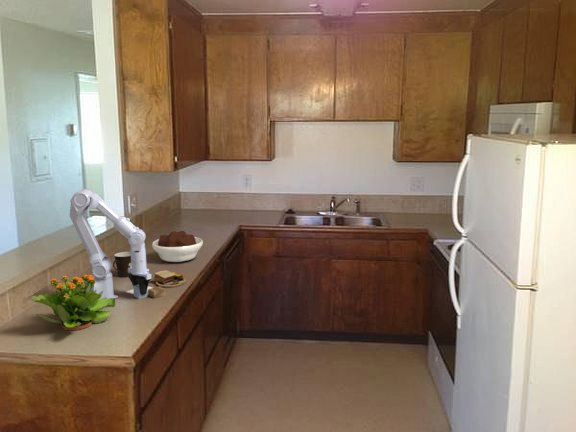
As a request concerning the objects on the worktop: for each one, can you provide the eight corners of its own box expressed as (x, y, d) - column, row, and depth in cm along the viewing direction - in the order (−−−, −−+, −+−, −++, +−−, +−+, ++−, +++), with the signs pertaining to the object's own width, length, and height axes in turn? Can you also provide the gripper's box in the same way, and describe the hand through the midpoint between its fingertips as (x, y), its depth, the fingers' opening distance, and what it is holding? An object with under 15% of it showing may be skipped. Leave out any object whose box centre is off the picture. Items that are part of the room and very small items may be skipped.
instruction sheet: (136, 295, 215) (136, 294, 215) (125, 292, 219) (125, 291, 218) (155, 288, 223) (155, 288, 223) (144, 285, 227) (144, 285, 227)
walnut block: (154, 299, 210) (154, 292, 210) (148, 296, 214) (148, 289, 214) (165, 296, 214) (165, 289, 213) (159, 293, 217) (159, 286, 217)
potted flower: (100, 339, 172) (96, 288, 168) (24, 342, 170) (19, 290, 167) (118, 312, 196) (115, 266, 193) (52, 314, 194) (48, 268, 191)
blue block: (139, 298, 210) (138, 287, 209) (133, 296, 213) (133, 285, 212) (147, 296, 213) (147, 285, 212) (142, 294, 216) (142, 283, 215)
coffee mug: (129, 271, 248) (128, 250, 246) (138, 275, 242) (137, 254, 240) (106, 276, 240) (104, 255, 238) (115, 280, 234) (113, 259, 232)
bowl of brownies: (166, 252, 282) (164, 225, 279) (210, 254, 277) (209, 226, 274) (144, 265, 258) (142, 235, 255) (192, 267, 253) (191, 237, 250)
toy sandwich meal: (166, 290, 221) (166, 279, 220) (148, 283, 230) (148, 273, 229) (191, 283, 230) (190, 273, 229) (173, 277, 239) (172, 267, 238)
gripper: (157, 261, 208) (159, 294, 211) (138, 255, 218) (140, 286, 221) (141, 265, 203) (143, 299, 206) (122, 258, 213) (124, 290, 216)
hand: (140, 293), depth 213 cm, fingers closed on blue block, 4 cm apart
